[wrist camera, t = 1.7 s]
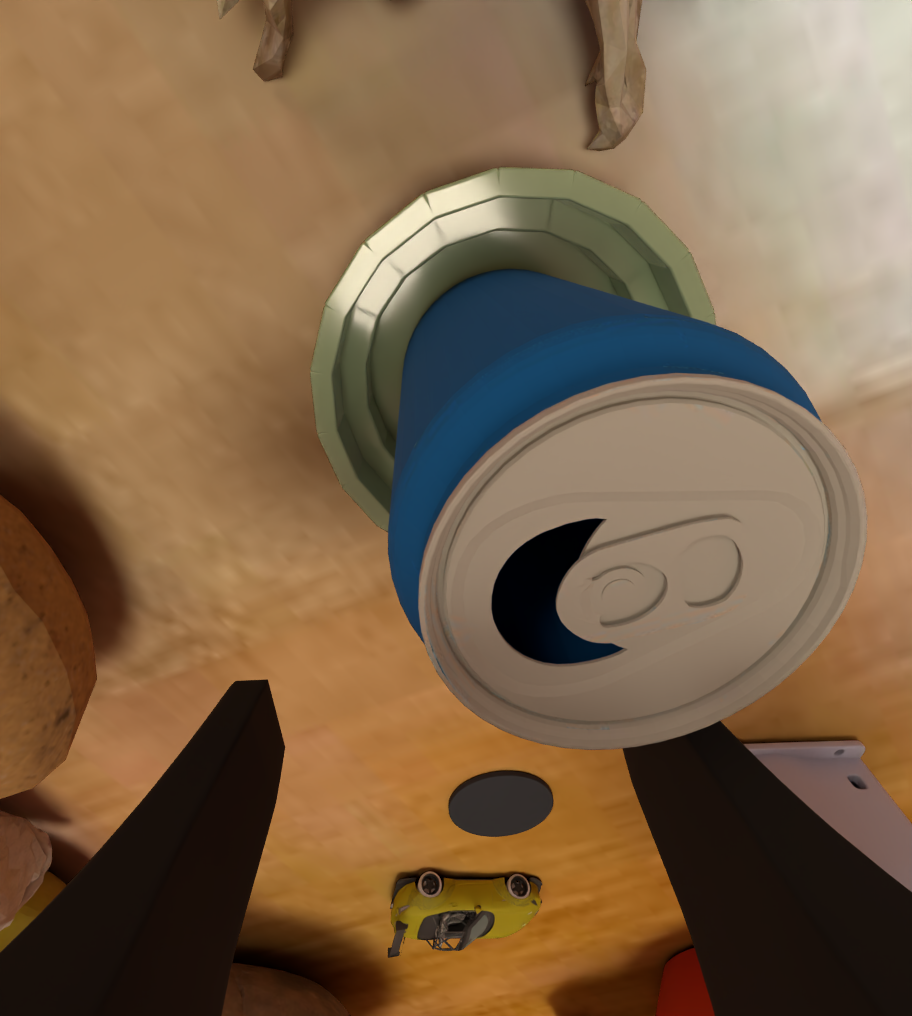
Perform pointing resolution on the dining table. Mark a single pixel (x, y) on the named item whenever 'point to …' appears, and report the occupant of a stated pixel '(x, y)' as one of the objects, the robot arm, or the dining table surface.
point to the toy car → (461, 909)
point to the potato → (38, 656)
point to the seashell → (20, 863)
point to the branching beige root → (613, 71)
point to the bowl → (276, 994)
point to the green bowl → (452, 259)
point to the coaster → (500, 803)
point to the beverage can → (611, 513)
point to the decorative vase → (683, 988)
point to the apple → (32, 908)
